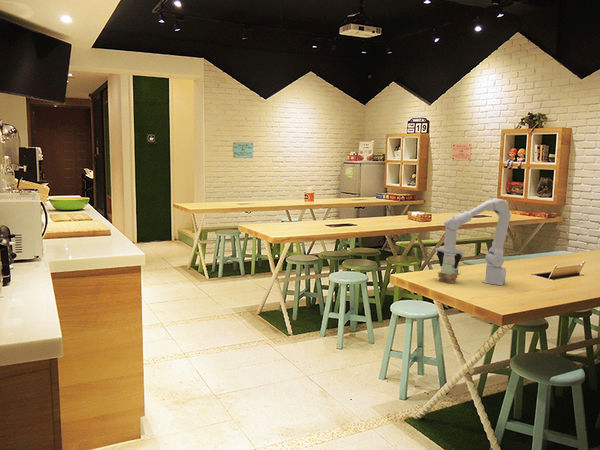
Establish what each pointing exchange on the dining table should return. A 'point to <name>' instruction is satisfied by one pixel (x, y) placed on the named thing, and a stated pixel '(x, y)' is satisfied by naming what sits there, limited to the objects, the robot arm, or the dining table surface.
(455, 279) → the bottom tile
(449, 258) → the ink box
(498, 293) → the dining table surface
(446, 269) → the mint block
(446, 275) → the top tile
